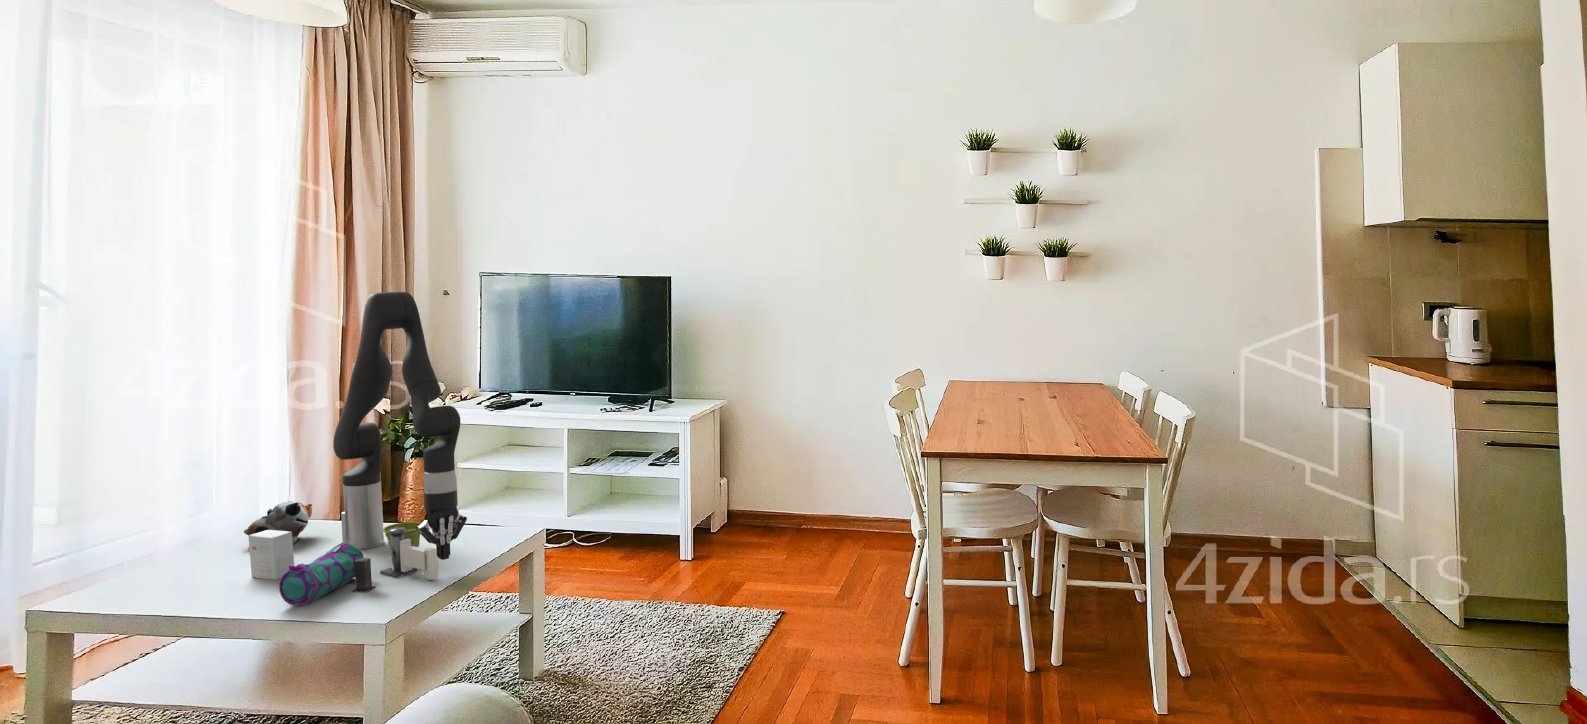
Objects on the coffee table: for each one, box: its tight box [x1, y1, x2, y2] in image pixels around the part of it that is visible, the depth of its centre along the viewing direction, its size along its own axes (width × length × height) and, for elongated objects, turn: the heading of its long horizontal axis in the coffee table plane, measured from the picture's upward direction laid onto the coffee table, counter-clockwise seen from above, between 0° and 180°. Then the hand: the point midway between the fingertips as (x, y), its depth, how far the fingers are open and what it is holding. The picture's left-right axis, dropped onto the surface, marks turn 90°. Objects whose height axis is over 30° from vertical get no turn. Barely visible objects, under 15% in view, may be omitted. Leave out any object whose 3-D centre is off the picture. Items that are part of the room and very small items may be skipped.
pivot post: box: [379, 527, 419, 579], centre depth 220 cm, size 6×6×11 cm
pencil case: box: [278, 541, 365, 607], centre depth 206 cm, size 21×9×10 cm, turn 178°
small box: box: [248, 530, 295, 581], centre depth 219 cm, size 8×6×10 cm
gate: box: [400, 539, 439, 581], centre depth 216 cm, size 11×2×8 cm, turn 59°
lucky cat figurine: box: [243, 500, 313, 544], centre depth 248 cm, size 15×12×14 cm
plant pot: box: [383, 521, 423, 554], centre depth 230 cm, size 9×9×9 cm
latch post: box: [351, 557, 377, 593], centre depth 208 cm, size 4×4×7 cm
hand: (443, 558), depth 219 cm, fingers closed
